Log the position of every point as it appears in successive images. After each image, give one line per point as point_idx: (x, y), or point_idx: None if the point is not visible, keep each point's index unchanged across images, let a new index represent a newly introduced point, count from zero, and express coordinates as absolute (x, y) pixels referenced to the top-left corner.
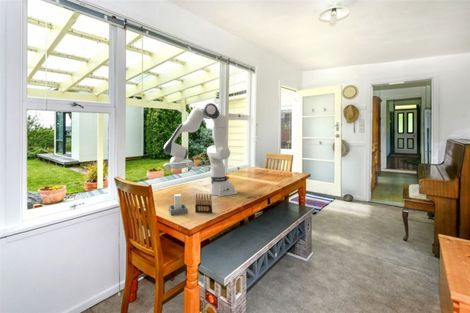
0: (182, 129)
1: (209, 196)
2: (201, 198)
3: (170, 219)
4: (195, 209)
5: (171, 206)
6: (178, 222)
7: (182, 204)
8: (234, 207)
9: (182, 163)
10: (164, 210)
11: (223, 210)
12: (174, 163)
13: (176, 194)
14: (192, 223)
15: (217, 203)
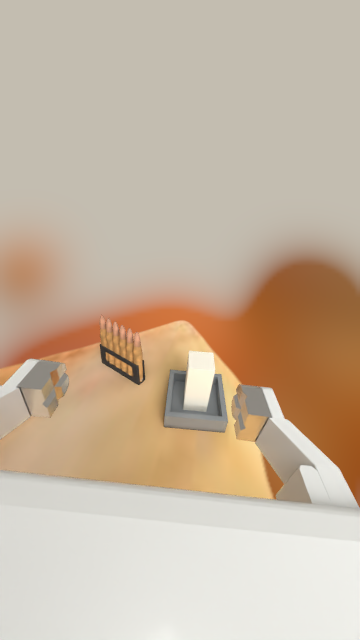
0: None
1: (105, 322)
2: (126, 337)
3: (219, 360)
4: (144, 372)
5: (217, 418)
6: (203, 342)
7: (174, 414)
8: (16, 367)
9: (40, 476)
10: None
11: (66, 360)
12: (257, 506)
13: (205, 367)
14: (176, 330)
15: (10, 432)
